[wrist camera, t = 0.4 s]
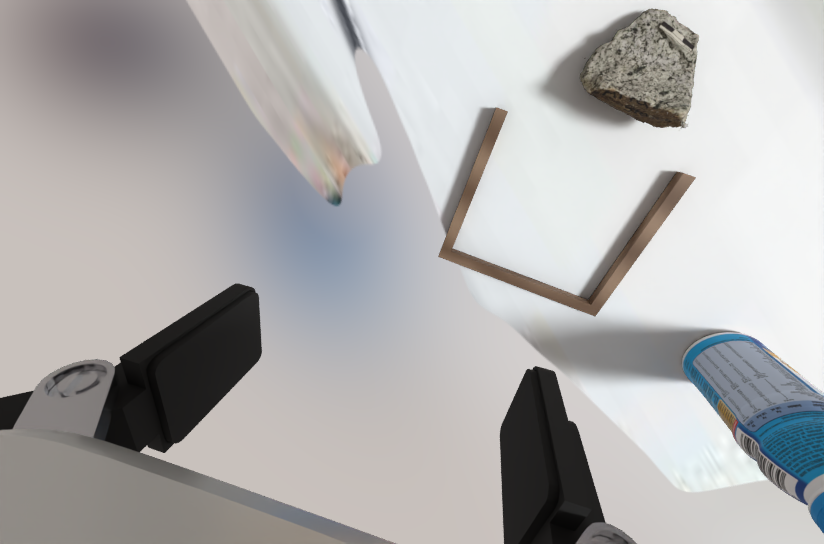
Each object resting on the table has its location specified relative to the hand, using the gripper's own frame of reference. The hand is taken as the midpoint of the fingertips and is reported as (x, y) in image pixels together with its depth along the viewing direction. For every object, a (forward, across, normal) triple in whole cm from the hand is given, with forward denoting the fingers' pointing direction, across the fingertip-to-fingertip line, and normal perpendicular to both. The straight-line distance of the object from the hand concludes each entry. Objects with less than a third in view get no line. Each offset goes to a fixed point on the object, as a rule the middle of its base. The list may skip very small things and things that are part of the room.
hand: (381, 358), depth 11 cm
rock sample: (+30, -13, -14) cm, 36 cm away
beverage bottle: (+30, -36, +13) cm, 48 cm away
